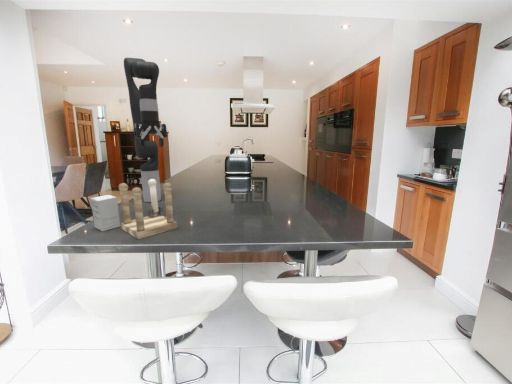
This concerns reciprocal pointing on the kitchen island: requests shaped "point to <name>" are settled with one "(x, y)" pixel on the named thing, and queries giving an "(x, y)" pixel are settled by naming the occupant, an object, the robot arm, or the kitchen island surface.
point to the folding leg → (153, 194)
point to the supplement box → (105, 212)
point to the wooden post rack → (152, 222)
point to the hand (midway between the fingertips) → (152, 147)
